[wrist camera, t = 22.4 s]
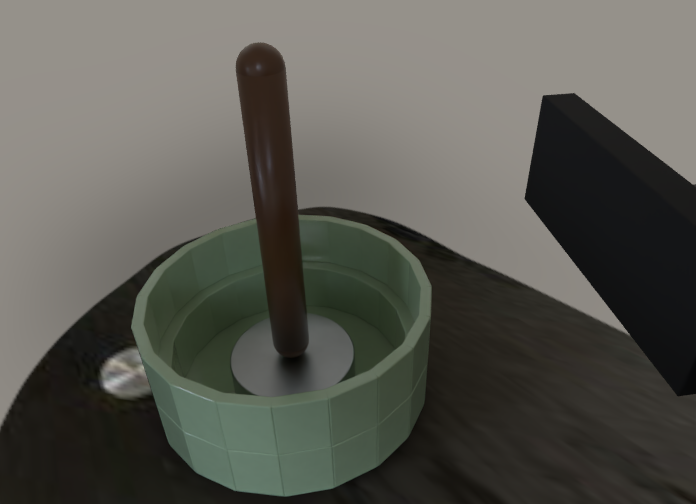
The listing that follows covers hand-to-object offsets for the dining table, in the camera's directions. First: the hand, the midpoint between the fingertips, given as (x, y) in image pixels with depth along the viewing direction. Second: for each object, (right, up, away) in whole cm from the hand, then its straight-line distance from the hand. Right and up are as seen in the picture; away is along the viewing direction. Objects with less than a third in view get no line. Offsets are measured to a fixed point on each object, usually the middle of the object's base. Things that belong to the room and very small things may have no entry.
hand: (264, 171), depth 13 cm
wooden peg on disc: (-1, -9, +21) cm, 23 cm away
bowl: (-1, -10, +21) cm, 23 cm away
